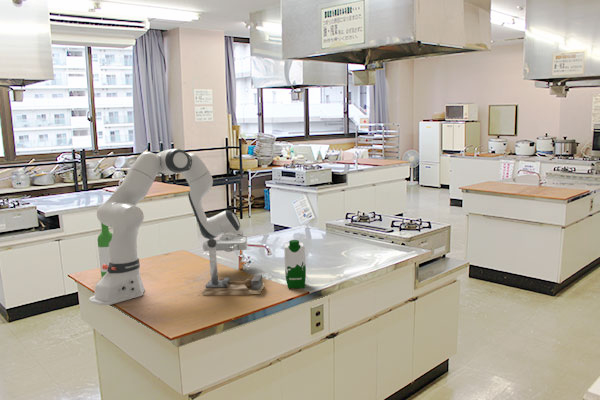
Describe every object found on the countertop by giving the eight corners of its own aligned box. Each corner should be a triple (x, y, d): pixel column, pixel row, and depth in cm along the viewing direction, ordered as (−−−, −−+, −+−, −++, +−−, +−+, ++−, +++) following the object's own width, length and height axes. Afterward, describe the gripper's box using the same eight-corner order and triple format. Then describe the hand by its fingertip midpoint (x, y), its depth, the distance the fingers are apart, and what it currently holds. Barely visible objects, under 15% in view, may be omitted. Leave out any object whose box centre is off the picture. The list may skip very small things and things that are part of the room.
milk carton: (285, 289, 205) (283, 242, 202) (285, 283, 214) (283, 238, 211) (307, 288, 205) (304, 241, 202) (306, 282, 214) (304, 237, 211)
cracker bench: (202, 294, 203) (201, 282, 203) (209, 287, 213) (208, 274, 212) (259, 294, 201) (259, 281, 200) (264, 286, 210) (263, 274, 210)
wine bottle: (108, 274, 240) (101, 213, 236) (122, 274, 238) (115, 213, 234) (97, 279, 233) (91, 216, 228) (112, 279, 231) (105, 216, 226)
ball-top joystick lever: (205, 289, 204) (201, 241, 201) (210, 284, 211) (207, 237, 208) (226, 289, 203) (223, 240, 200) (231, 283, 210) (227, 236, 207)
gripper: (206, 236, 232) (197, 243, 219) (249, 234, 230) (242, 242, 216) (207, 249, 233) (198, 257, 220) (250, 247, 231) (244, 255, 217)
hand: (221, 249), depth 218 cm, fingers open, 8 cm apart
